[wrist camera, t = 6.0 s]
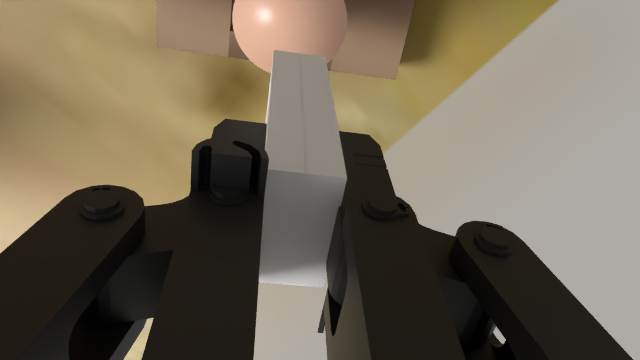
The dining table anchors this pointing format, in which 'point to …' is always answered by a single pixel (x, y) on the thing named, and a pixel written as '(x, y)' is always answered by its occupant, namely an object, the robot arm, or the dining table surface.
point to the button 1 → (288, 28)
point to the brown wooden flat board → (353, 57)
